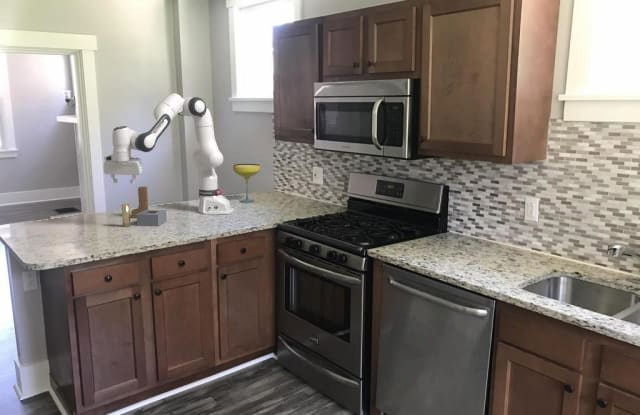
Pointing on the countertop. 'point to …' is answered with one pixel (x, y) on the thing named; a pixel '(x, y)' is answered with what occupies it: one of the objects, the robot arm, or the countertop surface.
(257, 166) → the cocktail glass
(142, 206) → the wooden block
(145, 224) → the hole holder
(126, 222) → the brass pin
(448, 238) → the countertop surface
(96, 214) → the countertop surface
